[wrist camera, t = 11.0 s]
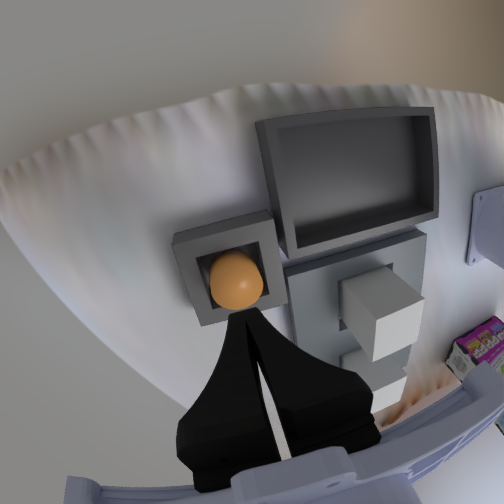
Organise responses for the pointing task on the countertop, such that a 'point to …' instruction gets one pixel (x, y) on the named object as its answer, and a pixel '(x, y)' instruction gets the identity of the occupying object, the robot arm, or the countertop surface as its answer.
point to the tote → (349, 174)
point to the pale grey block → (380, 311)
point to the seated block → (377, 376)
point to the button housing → (223, 238)
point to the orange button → (235, 280)
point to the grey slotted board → (326, 292)
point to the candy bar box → (479, 353)
